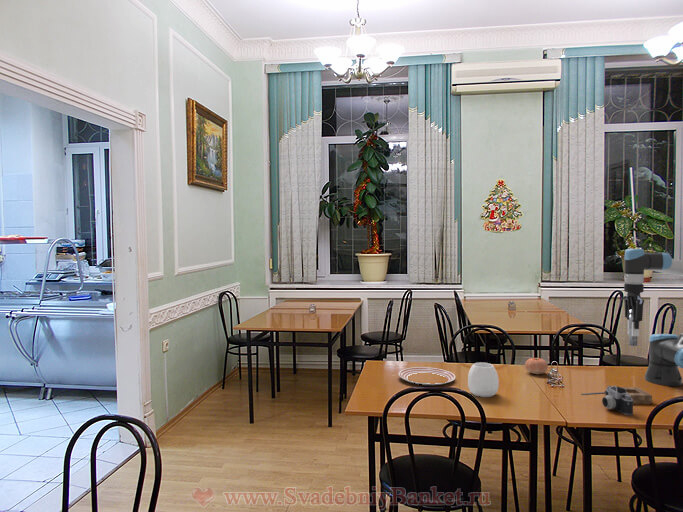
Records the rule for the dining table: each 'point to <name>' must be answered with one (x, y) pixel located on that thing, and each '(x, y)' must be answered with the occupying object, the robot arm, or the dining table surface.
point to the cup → (483, 380)
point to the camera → (618, 400)
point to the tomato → (536, 365)
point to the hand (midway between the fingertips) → (633, 335)
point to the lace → (593, 393)
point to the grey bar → (631, 338)
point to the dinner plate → (415, 370)
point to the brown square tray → (638, 395)
